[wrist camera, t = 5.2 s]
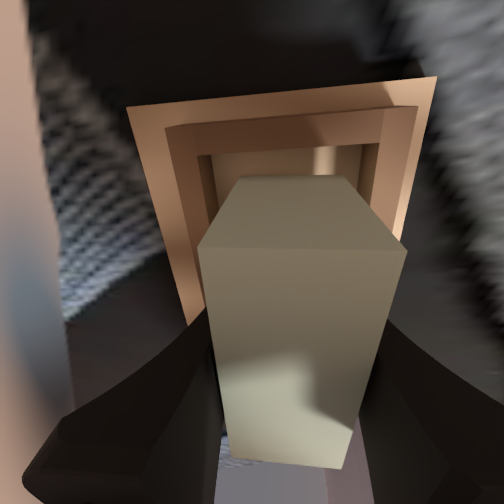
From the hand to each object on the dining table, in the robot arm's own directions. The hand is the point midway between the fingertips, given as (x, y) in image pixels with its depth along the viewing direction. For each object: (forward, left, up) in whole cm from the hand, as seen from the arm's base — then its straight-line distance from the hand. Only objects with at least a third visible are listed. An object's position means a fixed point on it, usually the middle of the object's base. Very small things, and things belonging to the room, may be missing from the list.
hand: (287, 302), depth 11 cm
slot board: (0, 0, -4) cm, 4 cm away
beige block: (0, 0, -2) cm, 2 cm away
